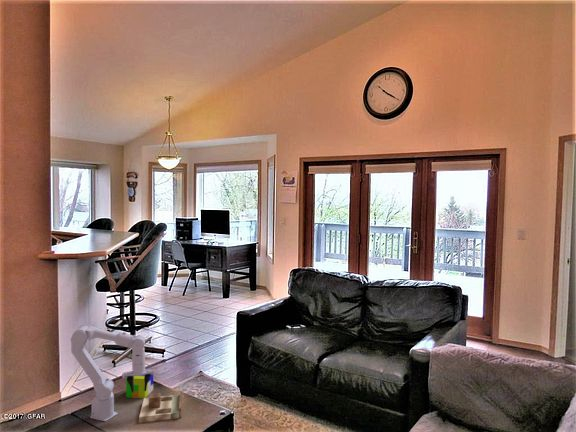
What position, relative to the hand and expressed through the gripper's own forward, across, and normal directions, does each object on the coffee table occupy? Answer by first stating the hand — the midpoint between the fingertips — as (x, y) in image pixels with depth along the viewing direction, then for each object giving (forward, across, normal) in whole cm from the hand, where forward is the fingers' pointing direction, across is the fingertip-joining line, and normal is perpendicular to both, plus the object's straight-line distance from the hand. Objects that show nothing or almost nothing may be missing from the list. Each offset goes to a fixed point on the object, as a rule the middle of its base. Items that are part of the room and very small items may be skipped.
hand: (139, 390), depth 192 cm
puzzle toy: (+11, +2, -22) cm, 24 cm away
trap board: (+11, -10, 0) cm, 15 cm away
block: (+8, -7, 0) cm, 11 cm away
